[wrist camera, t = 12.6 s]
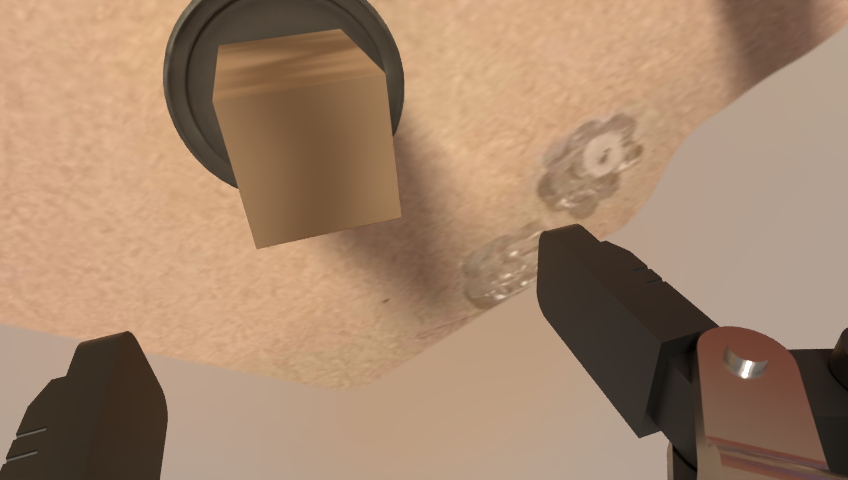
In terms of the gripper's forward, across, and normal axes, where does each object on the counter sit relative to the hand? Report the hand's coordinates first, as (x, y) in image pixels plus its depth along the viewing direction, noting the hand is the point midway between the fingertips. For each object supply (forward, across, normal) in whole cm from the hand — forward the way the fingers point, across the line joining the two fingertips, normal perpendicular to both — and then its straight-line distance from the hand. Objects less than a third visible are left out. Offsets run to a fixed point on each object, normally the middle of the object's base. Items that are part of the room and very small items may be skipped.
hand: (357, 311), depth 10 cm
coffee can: (+30, 0, 0) cm, 30 cm away
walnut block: (+15, 0, 0) cm, 15 cm away
